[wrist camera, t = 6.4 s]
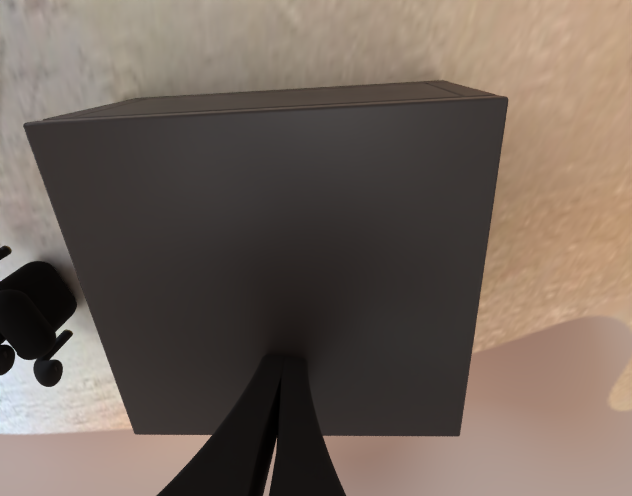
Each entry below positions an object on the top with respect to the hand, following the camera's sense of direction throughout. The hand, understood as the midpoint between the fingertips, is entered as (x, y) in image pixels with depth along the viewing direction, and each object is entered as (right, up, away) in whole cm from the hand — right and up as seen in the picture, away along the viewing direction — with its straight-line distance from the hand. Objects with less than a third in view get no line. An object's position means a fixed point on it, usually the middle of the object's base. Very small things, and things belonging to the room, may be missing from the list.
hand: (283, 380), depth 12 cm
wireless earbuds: (-11, +3, +7) cm, 13 cm away
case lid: (0, +3, 0) cm, 3 cm away
